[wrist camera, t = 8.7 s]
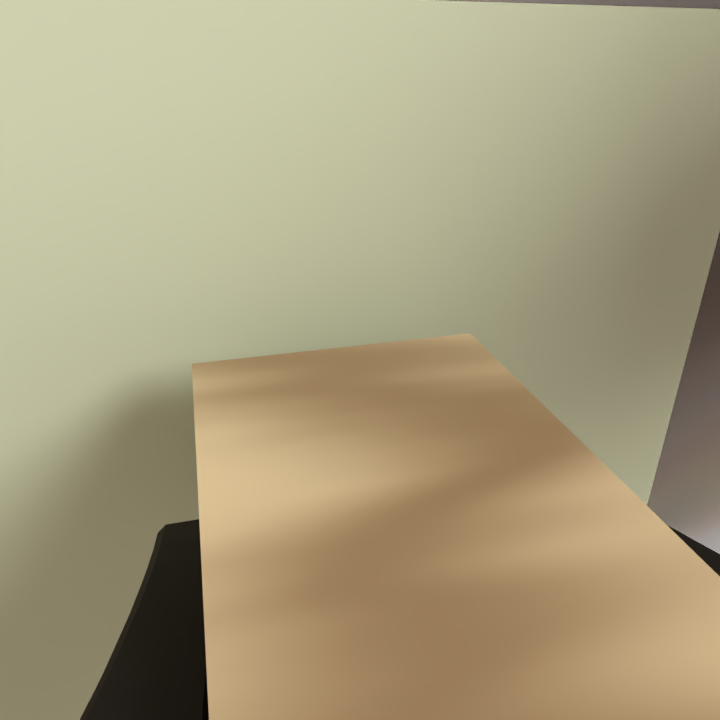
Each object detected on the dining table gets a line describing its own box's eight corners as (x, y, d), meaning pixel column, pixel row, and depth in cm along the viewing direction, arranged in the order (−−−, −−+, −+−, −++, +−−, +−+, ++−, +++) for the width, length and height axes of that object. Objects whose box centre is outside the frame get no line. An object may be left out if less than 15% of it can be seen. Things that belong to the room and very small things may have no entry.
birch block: (469, 333, 10) (894, 746, 4) (452, 541, 12) (724, 1029, 6) (191, 363, 9) (222, 962, 3) (220, 585, 11) (272, 1217, 5)
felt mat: (750, 12, 11) (778, 11, 11) (607, 589, 17) (620, 606, 17) (-347, -20, 8) (-386, -26, 7) (-37, 726, 14) (-46, 752, 13)
